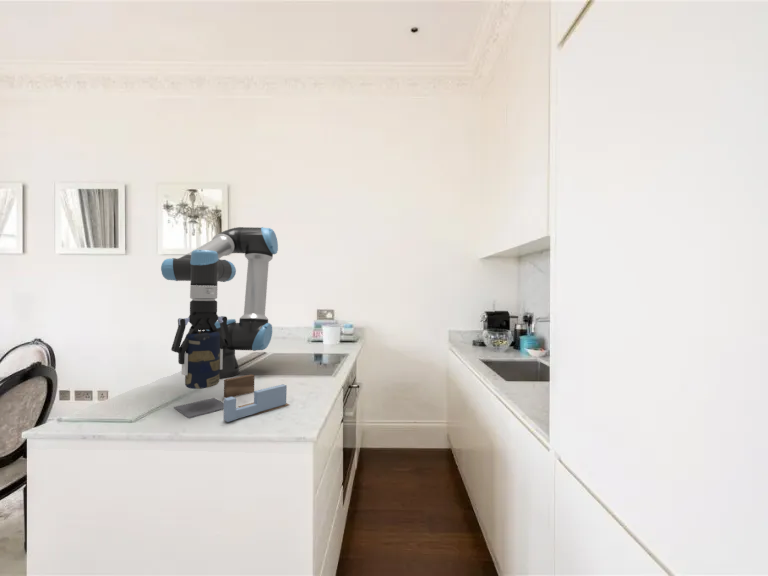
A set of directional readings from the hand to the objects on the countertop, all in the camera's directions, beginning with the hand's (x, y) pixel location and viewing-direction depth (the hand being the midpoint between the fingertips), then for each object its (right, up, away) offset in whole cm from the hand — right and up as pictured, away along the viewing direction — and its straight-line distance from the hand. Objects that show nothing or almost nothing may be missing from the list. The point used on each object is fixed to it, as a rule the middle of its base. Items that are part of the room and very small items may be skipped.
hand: (202, 371), depth 106 cm
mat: (0, -11, 0) cm, 11 cm away
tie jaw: (+18, -11, -3) cm, 22 cm away
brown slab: (+14, -12, +7) cm, 19 cm away
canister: (0, -5, 0) cm, 5 cm away
